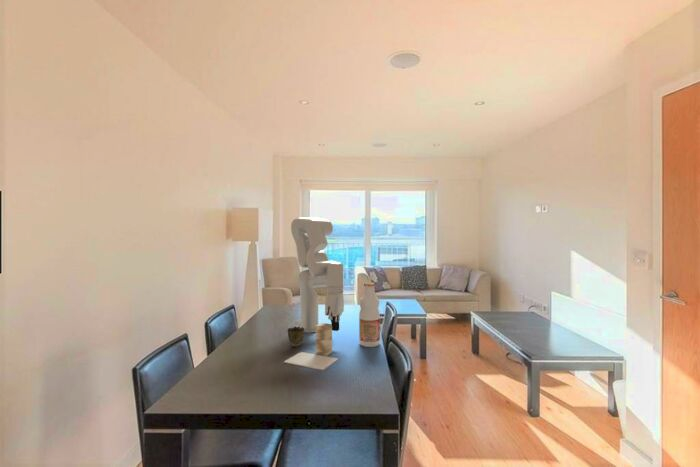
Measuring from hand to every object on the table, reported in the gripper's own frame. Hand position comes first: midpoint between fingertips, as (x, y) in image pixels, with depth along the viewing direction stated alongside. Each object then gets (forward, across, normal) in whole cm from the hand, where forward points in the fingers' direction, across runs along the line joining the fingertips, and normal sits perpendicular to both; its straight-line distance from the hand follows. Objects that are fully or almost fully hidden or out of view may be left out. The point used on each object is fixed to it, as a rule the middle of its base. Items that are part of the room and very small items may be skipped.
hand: (335, 330), depth 154 cm
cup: (+7, +8, -16) cm, 19 cm away
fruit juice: (+7, -9, +13) cm, 17 cm away
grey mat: (+7, +20, 0) cm, 21 cm away
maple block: (+7, +10, 0) cm, 12 cm away
